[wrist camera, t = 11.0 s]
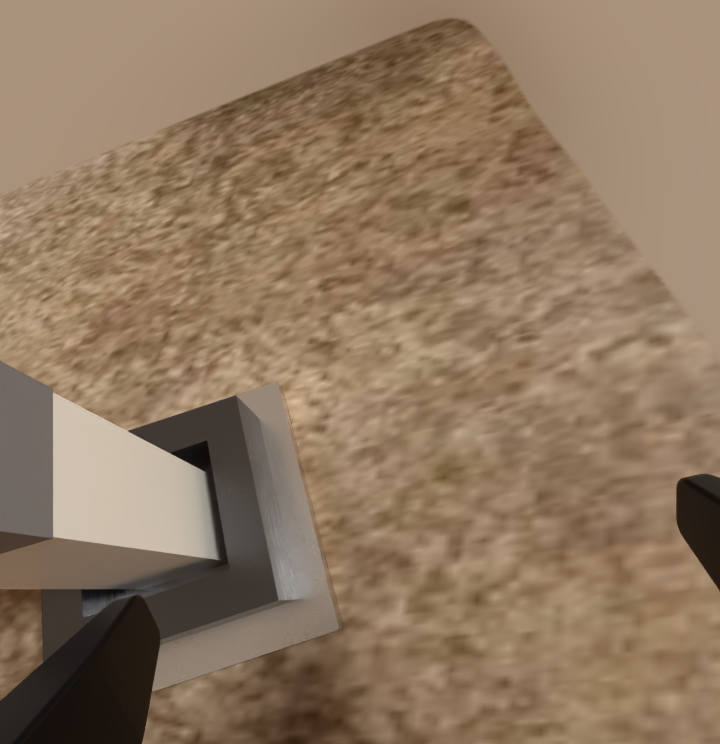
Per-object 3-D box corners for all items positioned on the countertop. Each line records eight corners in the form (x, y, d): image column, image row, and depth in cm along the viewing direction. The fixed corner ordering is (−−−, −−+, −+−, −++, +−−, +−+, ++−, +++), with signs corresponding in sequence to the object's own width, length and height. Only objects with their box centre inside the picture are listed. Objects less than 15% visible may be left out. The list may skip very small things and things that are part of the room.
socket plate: (343, 627, 20) (324, 636, 17) (84, 713, 20) (8, 741, 17) (282, 389, 25) (257, 354, 21) (71, 458, 25) (10, 436, 21)
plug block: (235, 562, 21) (-25, 527, 9) (140, 590, 21) (-244, 593, 9) (222, 479, 22) (-14, 353, 10) (134, 505, 22) (-201, 409, 10)
